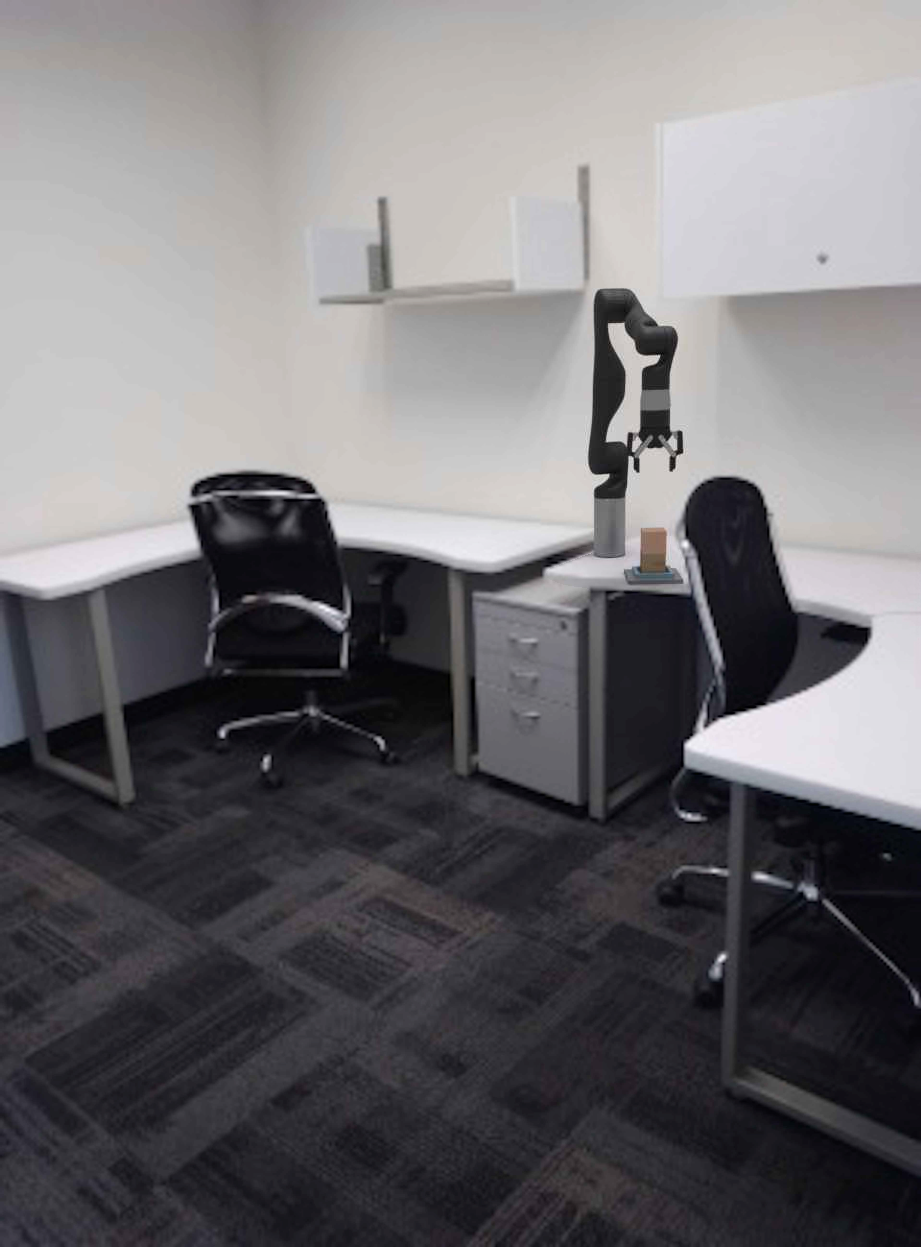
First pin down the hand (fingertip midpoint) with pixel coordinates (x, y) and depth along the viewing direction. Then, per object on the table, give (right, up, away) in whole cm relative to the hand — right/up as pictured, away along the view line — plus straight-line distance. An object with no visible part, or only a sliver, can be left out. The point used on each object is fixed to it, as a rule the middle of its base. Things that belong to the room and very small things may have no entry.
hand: (654, 471), depth 251 cm
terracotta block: (+1, -20, +6) cm, 21 cm away
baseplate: (+1, -27, +7) cm, 28 cm away
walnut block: (+1, -26, +7) cm, 27 cm away
